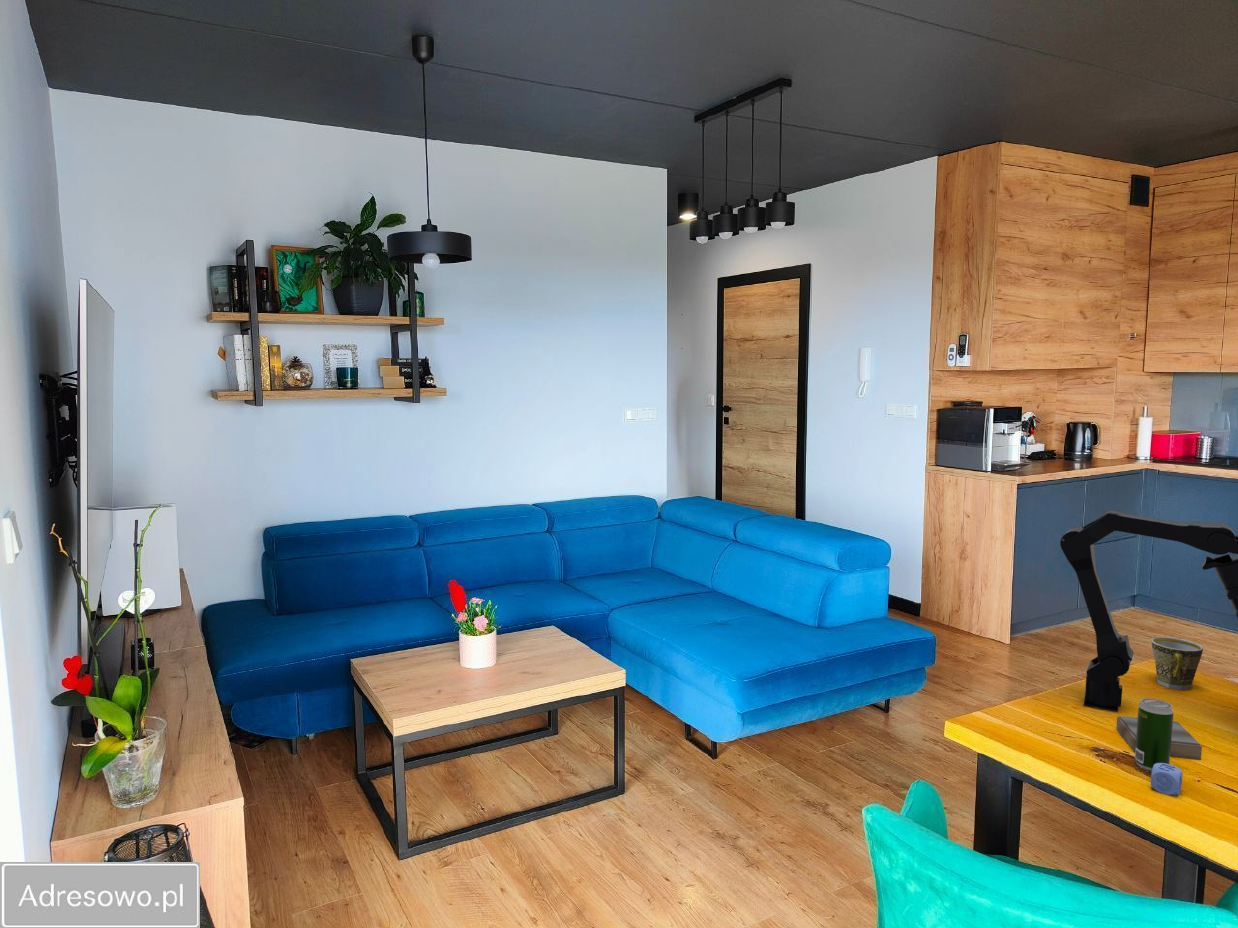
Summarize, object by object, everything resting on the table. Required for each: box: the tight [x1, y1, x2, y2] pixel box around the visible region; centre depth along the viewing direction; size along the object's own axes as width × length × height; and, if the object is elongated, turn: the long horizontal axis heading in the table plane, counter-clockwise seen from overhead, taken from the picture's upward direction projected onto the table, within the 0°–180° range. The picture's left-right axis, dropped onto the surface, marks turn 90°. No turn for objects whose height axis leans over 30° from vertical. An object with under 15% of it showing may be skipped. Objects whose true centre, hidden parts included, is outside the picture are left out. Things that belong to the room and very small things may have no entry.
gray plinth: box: [1115, 715, 1203, 761], centre depth 160 cm, size 11×11×3 cm
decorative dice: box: [1150, 763, 1183, 796], centre depth 141 cm, size 4×4×4 cm
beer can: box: [1134, 697, 1174, 772], centre depth 150 cm, size 5×5×12 cm
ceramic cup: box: [1151, 636, 1204, 691], centre depth 190 cm, size 13×10×10 cm
